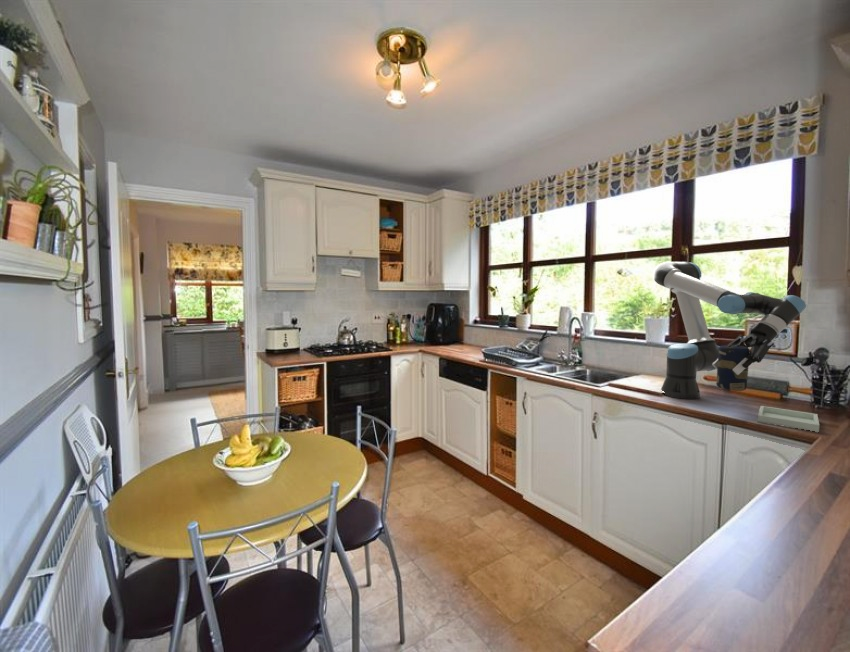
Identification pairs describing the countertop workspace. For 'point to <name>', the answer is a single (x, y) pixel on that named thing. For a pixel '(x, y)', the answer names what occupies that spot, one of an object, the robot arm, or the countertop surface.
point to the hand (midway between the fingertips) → (724, 369)
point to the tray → (789, 418)
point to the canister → (731, 367)
